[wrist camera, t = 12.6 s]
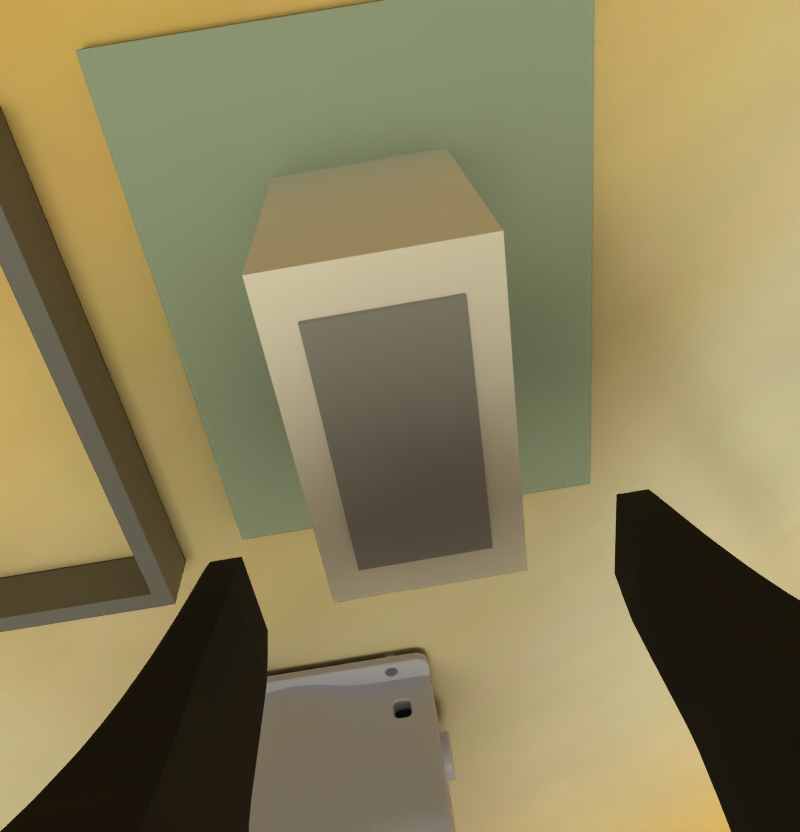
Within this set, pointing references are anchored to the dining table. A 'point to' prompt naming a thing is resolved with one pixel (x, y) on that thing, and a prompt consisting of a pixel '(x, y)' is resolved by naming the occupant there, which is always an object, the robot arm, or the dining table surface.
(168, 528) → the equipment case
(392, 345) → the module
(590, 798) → the dining table surface
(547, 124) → the rubber mat
